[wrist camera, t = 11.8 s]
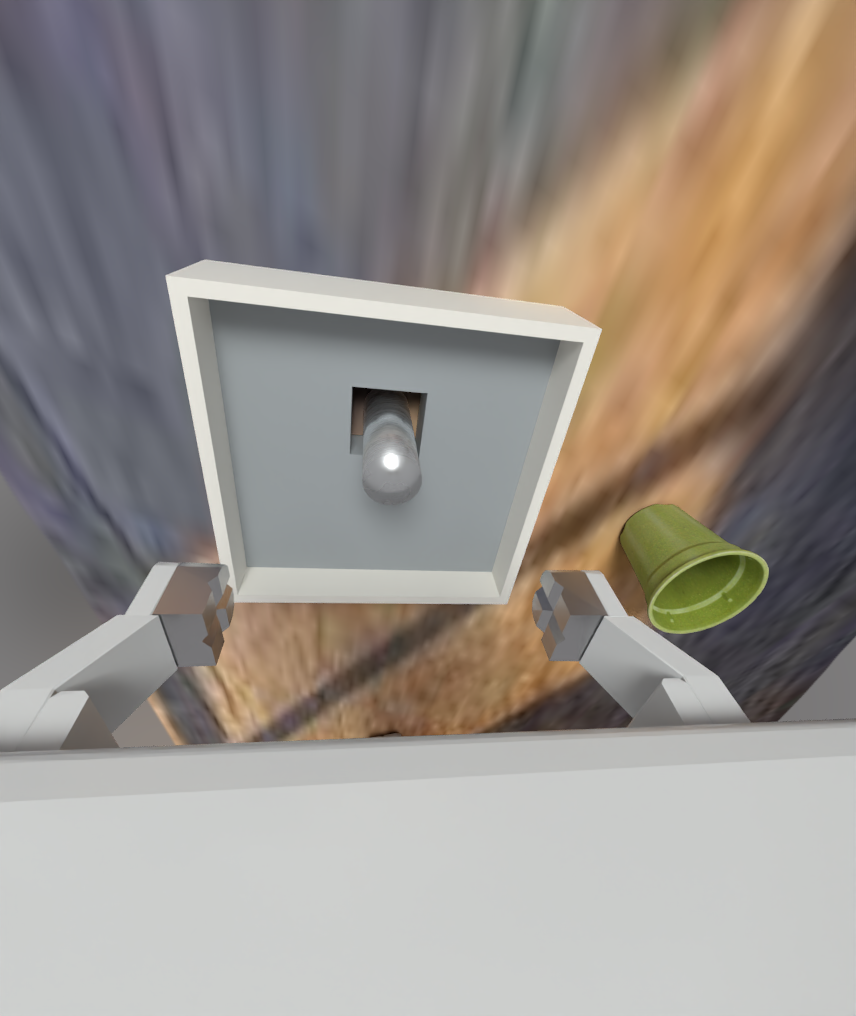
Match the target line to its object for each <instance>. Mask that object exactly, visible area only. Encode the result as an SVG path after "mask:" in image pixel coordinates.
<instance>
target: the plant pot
mask: <svg viewBox="0 0 856 1016" xmlns="http://www.w3.org/2000/svg"><path fill="white" fill-rule="evenodd" d="M620 542H621V545H622V547H623V549H624V551H625V553H626V555H627V557H628V559H629V561H630V563H631V565H632V567H633V569H634V571H635V574H636V576H637V578H638V580H639V582H640V584H641V586H642V588H643V590H644V593H645V599H646V602H647V605H648V606H647V613H648V617H649V619H650V621H651V623H652V624H653V625H654V626H655V627H656V628H658V629H660V630H661V631H664V632H667V633H677V634H683V633H692V632H697V631H701V630H704V629H707V628H710V627H713V626H715V625H718V624H720V623H722V622H724V621H726V620H728V619H730V618H732V617H734V616H735V615H737V614H738V613H740V612H741V611H743V610H744V609H745V608H746V607H747V606H748V605H749V604H751V603H752V602H753V601H754V600H755V599H756V597H757V596H758V595H759V594H760V593H761V592H762V590H763V588H764V587H765V585H766V582H767V579H768V574H769V569H768V566H767V564H766V562H765V561H764V559H762V558H761V557H760V556H759V555H757V554H755V553H753V552H751V551H747V550H742V549H741V548H739V547H737V546H735V545H733V544H729V543H728V542H726V541H725V540H723V539H722V538H720V537H719V536H718V535H716V534H715V533H713V532H712V531H711V530H709V529H708V528H706V527H705V526H704V525H702V524H701V523H699V522H698V521H697V520H695V519H694V518H692V517H691V516H690V515H688V514H687V513H686V512H684V511H683V510H681V509H680V508H679V507H677V506H675V505H673V504H671V505H659V504H655V505H651V506H649V507H646V508H644V509H642V510H640V511H639V512H637V513H636V514H634V515H633V516H632V517H631V518H630V519H629V520H628V521H627V522H626V524H625V528H624V530H623V533H622V534H621V535H620Z"/></svg>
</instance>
